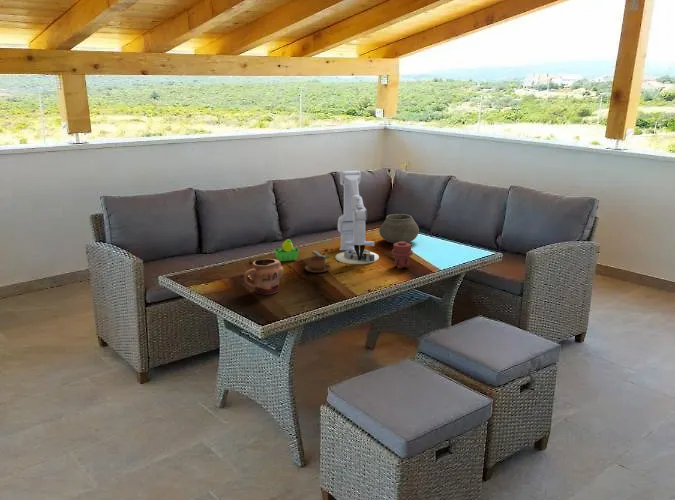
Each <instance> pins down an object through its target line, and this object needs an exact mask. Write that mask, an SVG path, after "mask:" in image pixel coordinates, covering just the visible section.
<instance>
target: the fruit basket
mask: <svg viewBox="0 0 675 500" xmlns="http://www.w3.org/2000/svg"><path fill="white" fill-rule="evenodd" d="M281 247H282V248H274V249H273V250H274V253H275V256H276V257H275V258H276V260H279V261H280V262H290V261H297V259H298V255H299V251H300V250H299V249H298V248H297V247H295V246H294V245H293V243H292V240H291V239H290V238H289V239H286V240H284V242H283V243H282V245H281Z"/></svg>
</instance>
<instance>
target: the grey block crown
mask: <svg viewBox="0 0 675 500" xmlns="http://www.w3.org/2000/svg"><path fill="white" fill-rule="evenodd" d="M353 250H355V249H349V250H344V251H343V252H344V257H345V258H348V259H352V258H353V259H358V256H357V255H356V254H351V251H353ZM359 250H360V248H359ZM370 252H371V251H370V250H368V249H366V248H365V249H364V251H363V253H362V257H361V259H362V260H364V261H366V262H369V261H370V254H369V253H370ZM359 257H360V255H359Z"/></svg>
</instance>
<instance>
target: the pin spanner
mask: <svg viewBox="0 0 675 500" xmlns="http://www.w3.org/2000/svg"><path fill="white" fill-rule="evenodd" d="M312 252H313V253H314V254H315V255H316V256H322V257H325V259H328V258H329V256H328V253H325V255H323V254H321V253H320V252H319V251H317V250H315V249H314V250H312Z"/></svg>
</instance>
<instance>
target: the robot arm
mask: <svg viewBox="0 0 675 500" xmlns="http://www.w3.org/2000/svg"><path fill="white" fill-rule="evenodd" d="M361 181H362V174H361V171H360V170H341V171H340V174H339V184H340V185H341V186H343V214H342V215H340V216H339V217H338V219H337V231H338V232H339V233H340V247H339V249H338V250H339V251H346V250H349V249H355V251H356V253H357V256H358V260H361V257H362V253H363V251H364V249H366V247H370V246H371V247H375V241H372V240H371V241H370V240H366V221H367V219H368V212H367V208H366V207H365V206H364V201H363V197H362V196H361V195H360V191H359V185H360V183H361ZM359 249H360V257H359Z"/></svg>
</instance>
